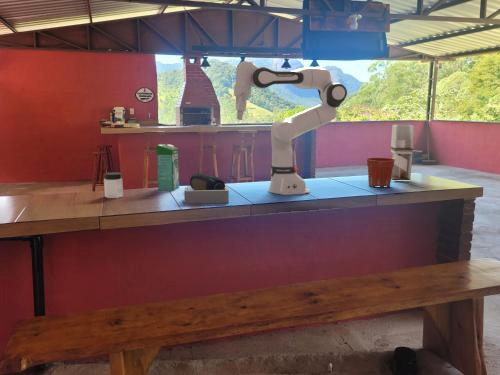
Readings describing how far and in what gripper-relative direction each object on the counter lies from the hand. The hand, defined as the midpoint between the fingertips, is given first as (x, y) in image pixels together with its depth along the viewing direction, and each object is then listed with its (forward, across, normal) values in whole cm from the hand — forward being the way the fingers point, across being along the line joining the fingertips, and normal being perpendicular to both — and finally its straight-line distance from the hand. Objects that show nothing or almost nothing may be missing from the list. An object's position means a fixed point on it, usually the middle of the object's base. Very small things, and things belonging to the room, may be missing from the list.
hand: (239, 119), depth 224 cm
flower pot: (+30, +13, -88) cm, 94 cm away
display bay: (+40, -20, +14) cm, 47 cm away
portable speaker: (+41, -1, +14) cm, 43 cm away
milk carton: (+43, +12, +35) cm, 56 cm away
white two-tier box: (+28, +31, -109) cm, 116 cm away
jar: (+45, -7, +61) cm, 76 cm away
